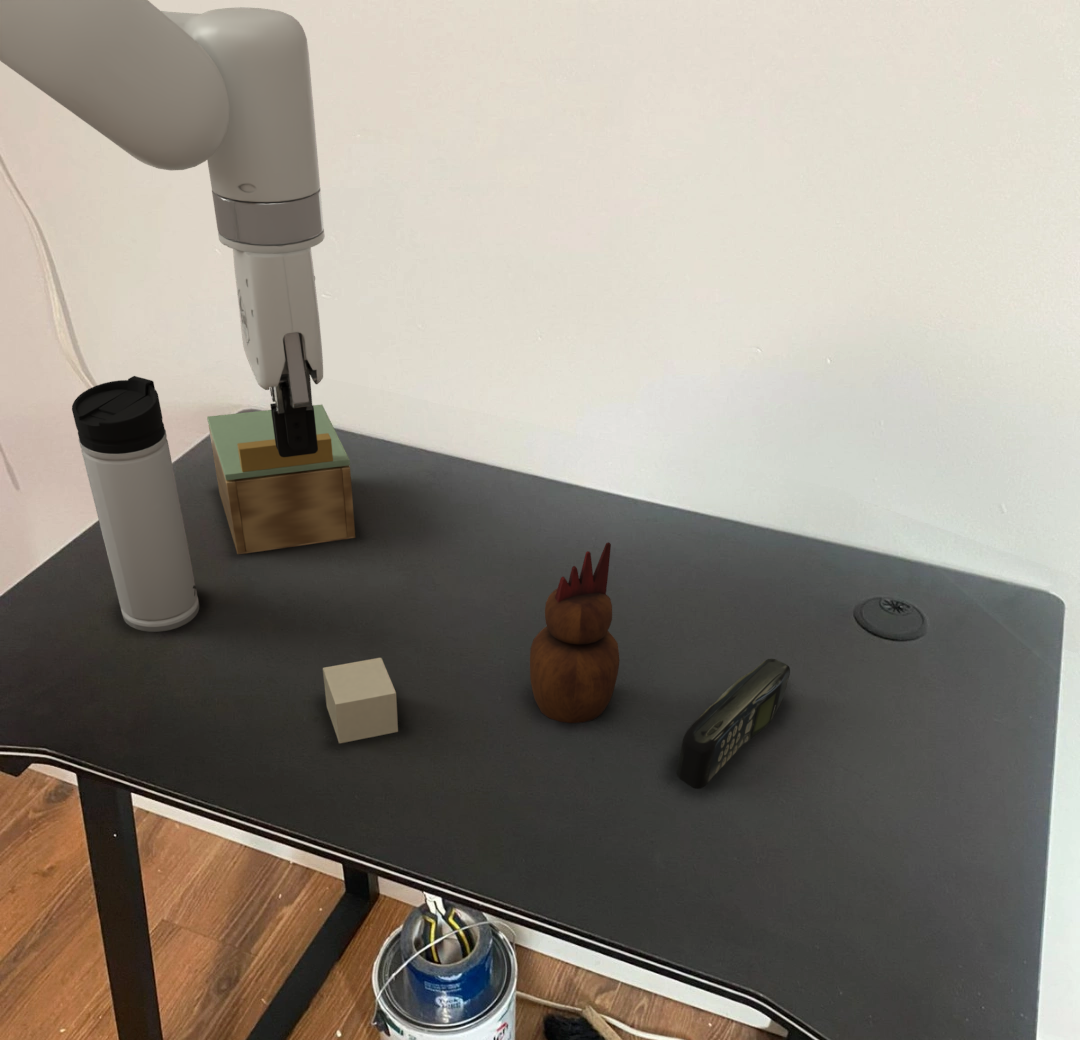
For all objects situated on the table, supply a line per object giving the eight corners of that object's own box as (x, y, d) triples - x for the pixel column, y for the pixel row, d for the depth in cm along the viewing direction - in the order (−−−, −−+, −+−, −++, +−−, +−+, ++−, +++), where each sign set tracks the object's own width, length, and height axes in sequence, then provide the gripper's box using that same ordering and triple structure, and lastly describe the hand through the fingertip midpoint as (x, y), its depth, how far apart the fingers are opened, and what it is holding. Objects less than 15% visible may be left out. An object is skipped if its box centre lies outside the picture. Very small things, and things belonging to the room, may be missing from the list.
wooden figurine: (610, 689, 87) (629, 527, 77) (614, 736, 83) (635, 571, 73) (527, 686, 87) (536, 523, 77) (527, 732, 82) (536, 567, 73)
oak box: (238, 561, 99) (226, 482, 93) (220, 499, 107) (208, 424, 102) (355, 544, 102) (350, 467, 97) (329, 485, 110) (323, 411, 105)
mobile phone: (712, 752, 75) (808, 650, 84) (675, 734, 76) (774, 635, 85) (702, 802, 78) (795, 698, 87) (667, 783, 79) (763, 683, 88)
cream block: (339, 750, 80) (335, 704, 77) (327, 713, 83) (322, 667, 80) (398, 738, 81) (396, 692, 78) (384, 702, 84) (381, 657, 81)
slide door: (225, 480, 93) (221, 451, 91) (207, 422, 102) (203, 394, 100) (350, 465, 97) (348, 436, 95) (322, 409, 105) (320, 382, 103)
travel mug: (218, 606, 93) (178, 385, 80) (167, 646, 88) (117, 418, 75) (160, 587, 95) (112, 368, 82) (108, 625, 90) (48, 399, 77)
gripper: (202, 190, 81) (237, 418, 93) (231, 253, 70) (266, 500, 82) (301, 184, 83) (323, 408, 95) (344, 244, 72) (362, 487, 84)
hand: (297, 450), depth 89 cm, fingers closed
